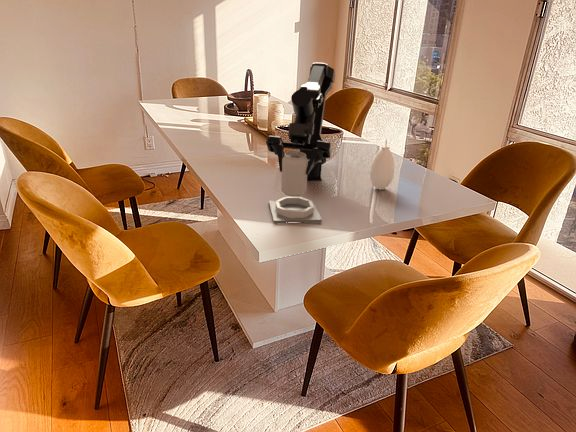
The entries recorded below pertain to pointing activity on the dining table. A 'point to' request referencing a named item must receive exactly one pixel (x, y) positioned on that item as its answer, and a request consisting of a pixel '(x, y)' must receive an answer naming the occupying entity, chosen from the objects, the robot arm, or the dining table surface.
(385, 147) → the sauce bottle
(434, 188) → the dining table surface
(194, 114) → the dining table surface
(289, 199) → the housing
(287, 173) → the can
